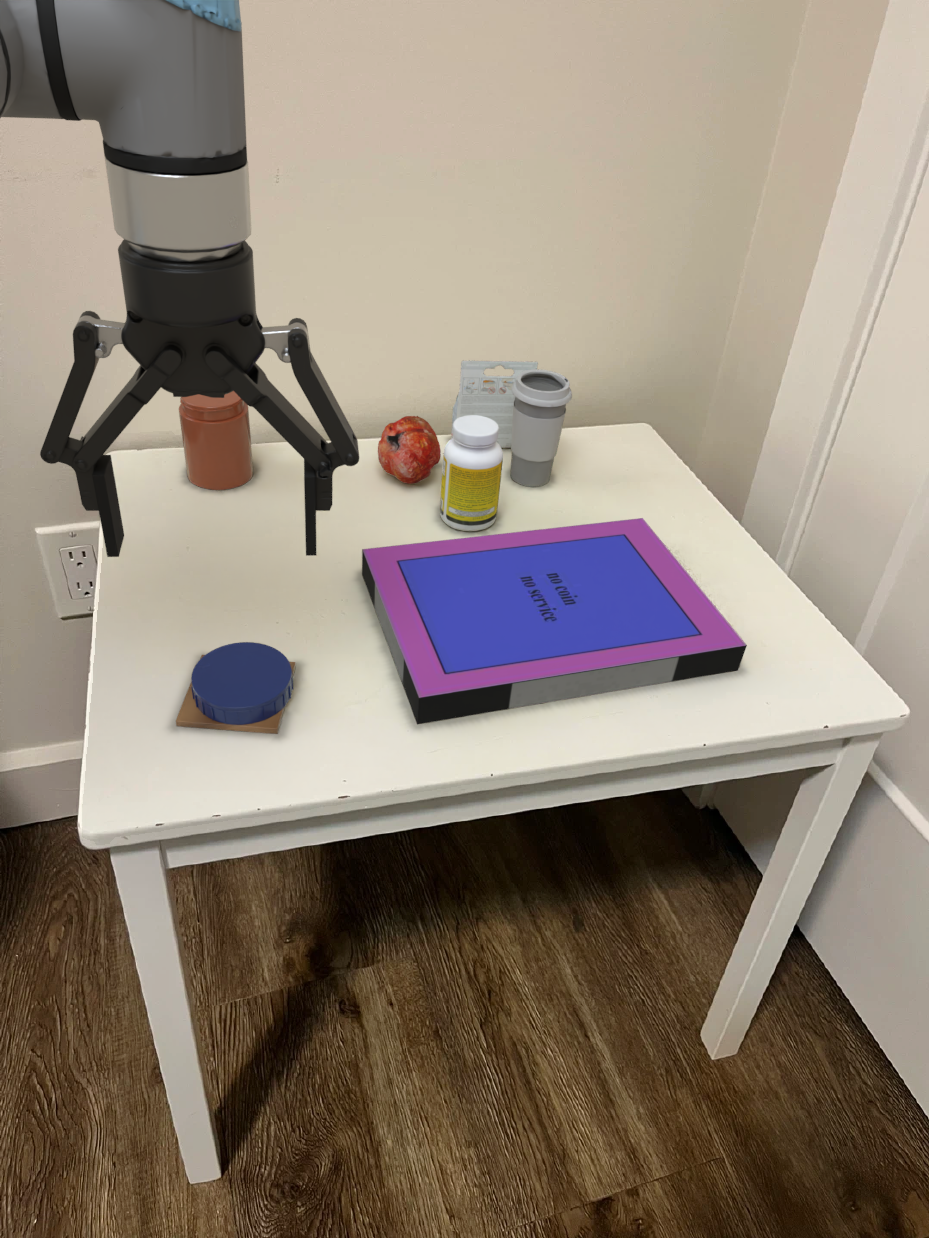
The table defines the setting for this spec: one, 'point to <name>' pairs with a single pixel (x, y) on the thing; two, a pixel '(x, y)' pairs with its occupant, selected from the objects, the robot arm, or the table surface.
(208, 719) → the cork mat
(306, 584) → the table surface
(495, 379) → the ink box
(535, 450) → the cup
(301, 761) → the table surface
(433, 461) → the pomegranate
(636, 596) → the book
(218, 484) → the jar
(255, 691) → the lid
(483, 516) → the pill bottle
